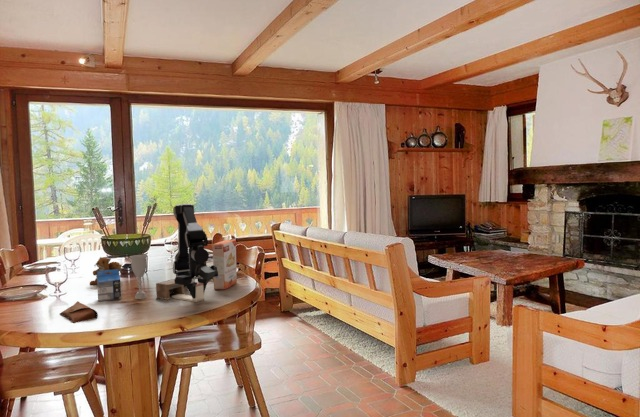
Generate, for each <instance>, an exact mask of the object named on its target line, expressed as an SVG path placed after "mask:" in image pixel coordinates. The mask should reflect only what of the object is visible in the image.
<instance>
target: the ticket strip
mask: <svg viewBox="0 0 640 417" xmlns="http://www.w3.org/2000/svg"><path fill="white" fill-rule="evenodd" d="M171 296H172V297H171V298H172V299H175V300H176V299H177V300H183V301H188V302H193V303H199V302H202V301H204V300H205V292H204V289H203V283H198V282H197V284H196V286H195V298H192V296H191V294H190V295H189V294H185V293H184V294H173V295H171Z"/></svg>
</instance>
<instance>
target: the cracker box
mask: <svg viewBox="0 0 640 417" xmlns="http://www.w3.org/2000/svg"><path fill="white" fill-rule="evenodd" d="M236 245H237V240H235V239H226V240H222V241H218V242H216V243H212V265H215V266H217V271H218V276H216V277H213V289H214V290H227V289H228V288H231V287H232V286H234V285H235V284H237V283H238V278H237V246H236Z"/></svg>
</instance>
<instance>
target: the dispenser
mask: <svg viewBox="0 0 640 417" xmlns="http://www.w3.org/2000/svg"><path fill="white" fill-rule="evenodd" d="M155 292H156V298H157V299H158V298H159V299H163V300H164V299H165V300H170V295H172V294H173V295H177V294H184V295H185V287H184V285H180V284H175V278H173V279H168V280H165V281H161V282H156V283H155Z"/></svg>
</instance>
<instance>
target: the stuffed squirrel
mask: <svg viewBox="0 0 640 417" xmlns="http://www.w3.org/2000/svg"><path fill="white" fill-rule="evenodd" d="M111 260H112V259H111V258H109V257H108V258H107V257H104V256H103V257H101V256H100V257H99V258H98V260H97V262H96V263H95V264H94V265H93V266H94V267H97V268H96V269H95V270H93V271H92V274H93V276H95V279H94V280H91V281H89V285H91V286H92V285H93V286H94V285H97V271H104V270H114V269H119V272H120V271H121V270H122V266H123V264H121V263H120V262H118V261H111ZM110 261H111V262H110ZM105 274H112V273H109V272H107V273H105Z"/></svg>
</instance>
